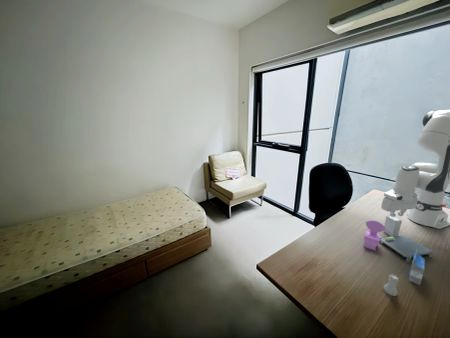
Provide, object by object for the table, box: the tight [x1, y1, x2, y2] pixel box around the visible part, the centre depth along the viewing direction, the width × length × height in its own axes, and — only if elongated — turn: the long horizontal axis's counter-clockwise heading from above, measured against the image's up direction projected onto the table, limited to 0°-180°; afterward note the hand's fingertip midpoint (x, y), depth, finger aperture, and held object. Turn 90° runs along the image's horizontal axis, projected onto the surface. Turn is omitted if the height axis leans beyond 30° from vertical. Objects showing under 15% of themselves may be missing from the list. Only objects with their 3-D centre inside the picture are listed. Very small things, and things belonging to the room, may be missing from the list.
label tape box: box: [408, 250, 426, 286], centre depth 83 cm, size 9×4×12 cm, turn 133°
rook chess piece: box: [383, 273, 400, 297], centre depth 77 cm, size 4×4×8 cm
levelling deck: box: [380, 234, 434, 258], centre depth 100 cm, size 16×14×3 cm
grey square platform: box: [379, 236, 433, 264], centre depth 101 cm, size 17×16×4 cm
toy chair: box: [363, 220, 385, 252], centre depth 102 cm, size 8×9×15 cm
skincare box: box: [382, 215, 403, 237], centre depth 112 cm, size 6×4×12 cm
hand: (396, 216), depth 108 cm, fingers open, 4 cm apart
